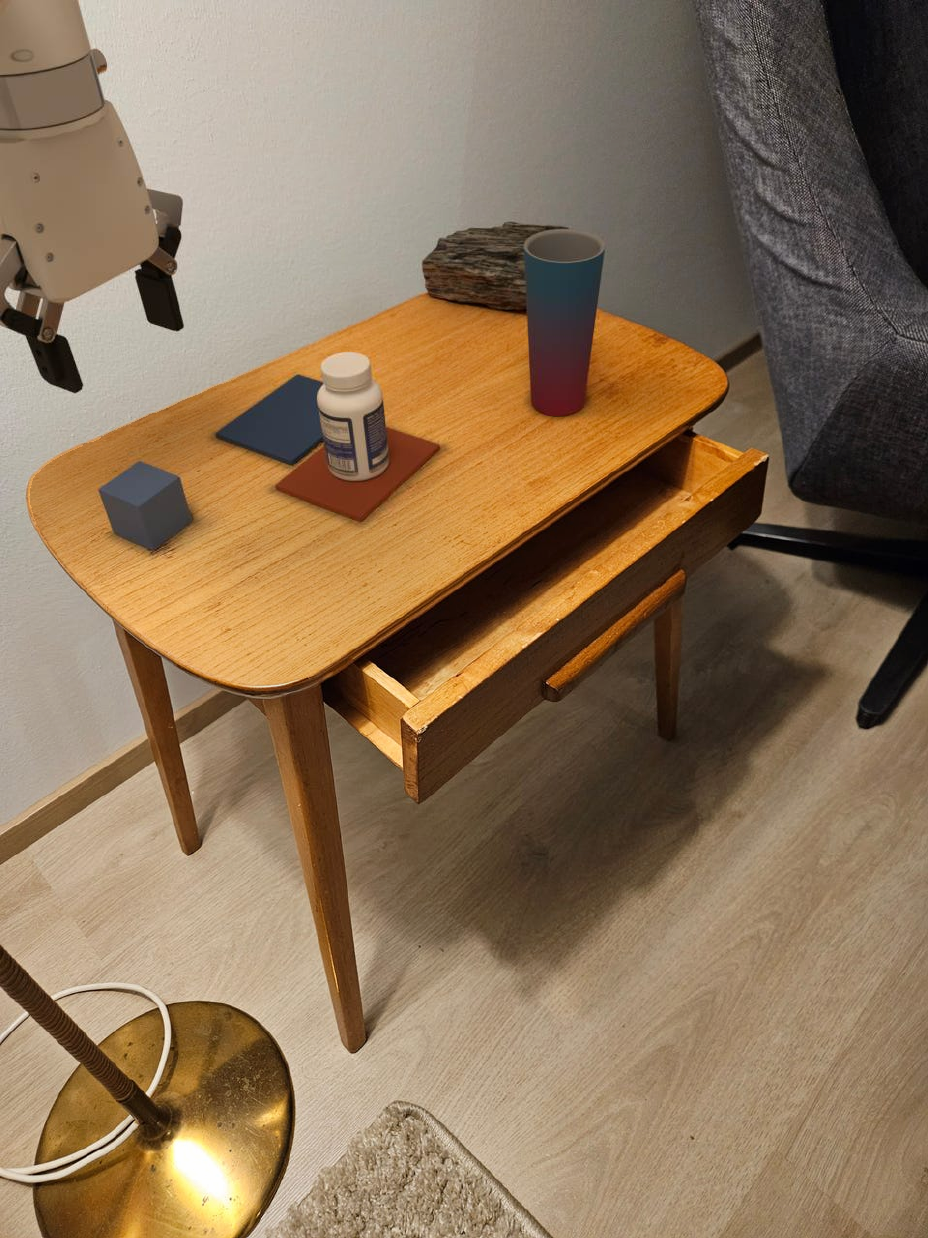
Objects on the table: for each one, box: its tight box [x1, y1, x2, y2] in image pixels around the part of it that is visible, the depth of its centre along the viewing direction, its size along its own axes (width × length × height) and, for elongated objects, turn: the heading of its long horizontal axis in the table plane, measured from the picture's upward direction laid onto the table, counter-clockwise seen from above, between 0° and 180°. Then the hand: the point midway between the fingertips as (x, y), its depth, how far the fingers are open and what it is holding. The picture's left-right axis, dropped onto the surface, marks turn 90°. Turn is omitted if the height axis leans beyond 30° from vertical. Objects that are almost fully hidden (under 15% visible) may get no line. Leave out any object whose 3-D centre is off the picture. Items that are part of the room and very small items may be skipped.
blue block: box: [97, 460, 193, 552], centre depth 77 cm, size 4×4×4 cm
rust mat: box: [274, 426, 441, 523], centre depth 84 cm, size 12×9×1 cm
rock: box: [421, 221, 570, 311], centre depth 105 cm, size 12×16×6 cm
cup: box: [524, 228, 606, 417], centre depth 86 cm, size 7×7×15 cm
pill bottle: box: [317, 351, 389, 481], centre depth 80 cm, size 5×5×10 cm
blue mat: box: [214, 374, 324, 466], centre depth 90 cm, size 12×9×1 cm
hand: (118, 354), depth 69 cm, fingers open, 9 cm apart
